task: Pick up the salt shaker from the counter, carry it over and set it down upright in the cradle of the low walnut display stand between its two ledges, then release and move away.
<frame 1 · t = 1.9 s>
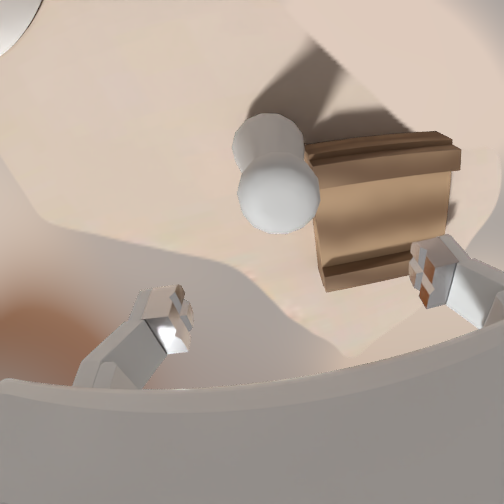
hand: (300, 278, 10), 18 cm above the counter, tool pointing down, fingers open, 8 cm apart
salt shaker: (266, 140, 25), on the counter
display stand: (377, 202, 29), on the counter
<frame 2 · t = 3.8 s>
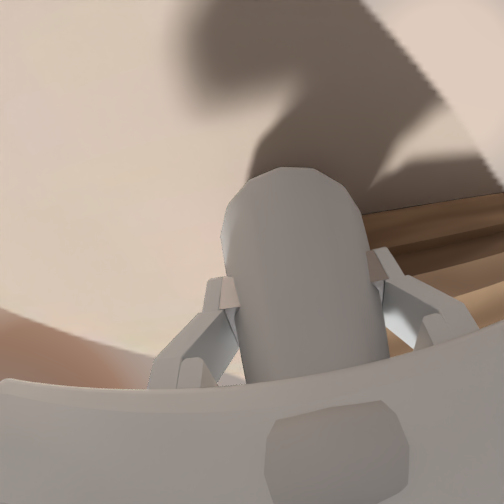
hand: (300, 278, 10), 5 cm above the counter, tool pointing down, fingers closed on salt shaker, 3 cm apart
salt shaker: (286, 208, 14), on the counter, touching gripper
display stand: (443, 291, 18), on the counter
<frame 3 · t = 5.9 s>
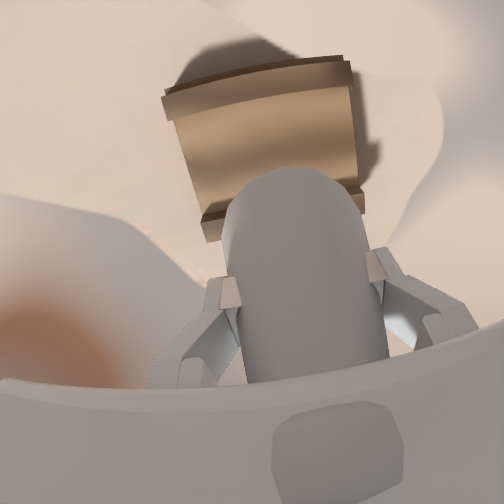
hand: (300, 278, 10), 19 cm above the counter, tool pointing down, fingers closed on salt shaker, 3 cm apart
salt shaker: (286, 208, 15), point 14 cm above the counter, touching gripper
display stand: (269, 141, 26), on the counter
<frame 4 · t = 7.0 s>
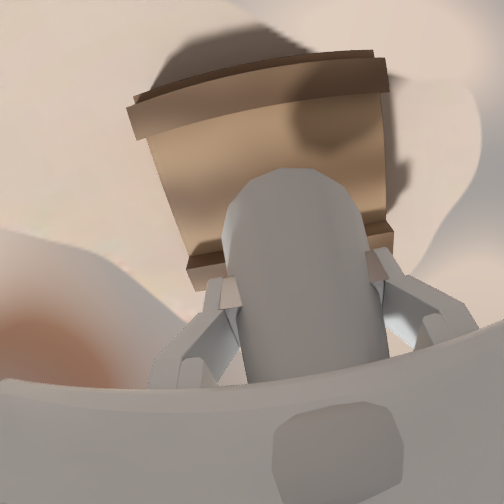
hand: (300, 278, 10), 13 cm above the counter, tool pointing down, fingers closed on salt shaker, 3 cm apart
salt shaker: (286, 208, 15), point 7 cm above the counter, touching gripper
display stand: (273, 161, 20), on the counter
when the fingers open (9 cm above the counter, at t = 7.9 s): salt shaker drops 1 cm, resting on display stand.
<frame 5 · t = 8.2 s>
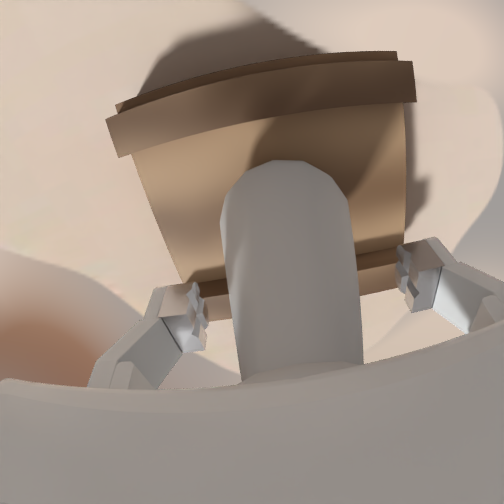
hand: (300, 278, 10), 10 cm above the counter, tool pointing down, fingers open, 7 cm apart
salt shaker: (281, 196, 16), point 3 cm above the counter, touching display stand
display stand: (278, 177, 18), on the counter
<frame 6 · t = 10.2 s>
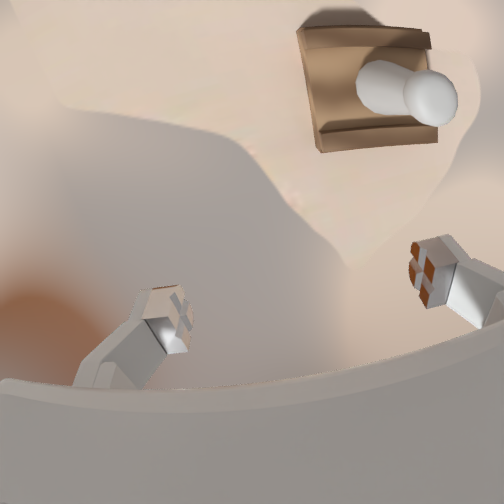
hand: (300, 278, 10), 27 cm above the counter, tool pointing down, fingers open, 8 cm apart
salt shaker: (373, 85, 27), point 3 cm above the counter, touching display stand
display stand: (365, 84, 29), on the counter
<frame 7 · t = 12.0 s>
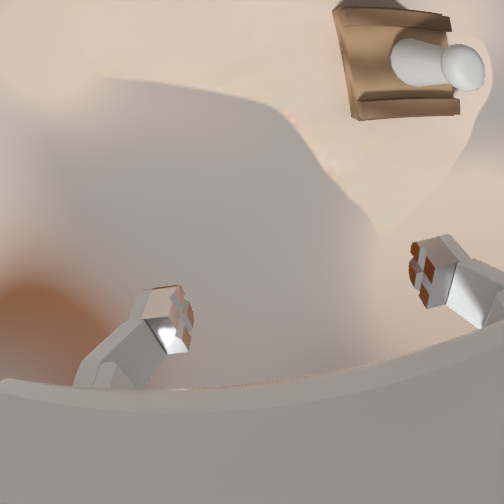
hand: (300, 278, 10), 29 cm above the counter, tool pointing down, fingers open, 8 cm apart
salt shaker: (403, 61, 26), point 3 cm above the counter, touching display stand
display stand: (394, 61, 29), on the counter
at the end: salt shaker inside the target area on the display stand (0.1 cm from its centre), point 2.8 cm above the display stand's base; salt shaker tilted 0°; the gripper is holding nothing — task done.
